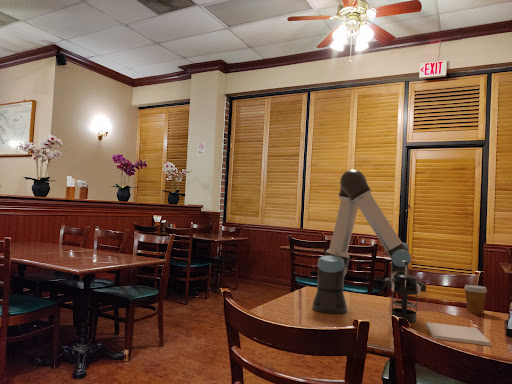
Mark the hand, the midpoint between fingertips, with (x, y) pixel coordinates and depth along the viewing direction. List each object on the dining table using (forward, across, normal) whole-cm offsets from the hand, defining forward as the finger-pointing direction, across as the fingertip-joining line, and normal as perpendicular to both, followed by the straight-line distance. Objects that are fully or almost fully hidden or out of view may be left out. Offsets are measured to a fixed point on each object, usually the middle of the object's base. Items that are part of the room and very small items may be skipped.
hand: (406, 289), depth 146 cm
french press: (-5, 0, -13) cm, 14 cm away
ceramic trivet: (-3, -18, -15) cm, 24 cm away
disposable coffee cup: (-48, -35, -15) cm, 61 cm away
